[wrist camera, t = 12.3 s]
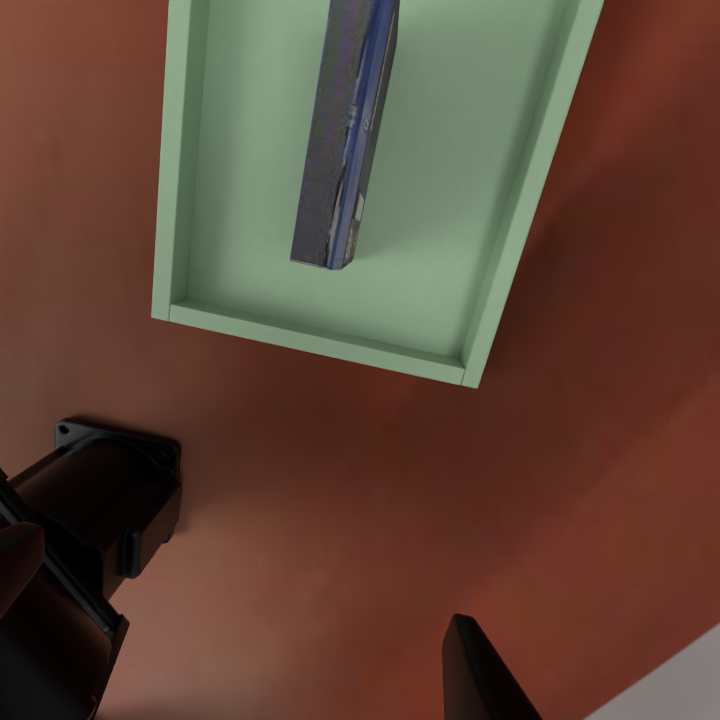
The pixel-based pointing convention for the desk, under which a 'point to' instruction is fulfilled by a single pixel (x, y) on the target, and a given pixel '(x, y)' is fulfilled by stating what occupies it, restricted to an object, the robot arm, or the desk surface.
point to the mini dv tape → (344, 129)
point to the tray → (386, 184)
